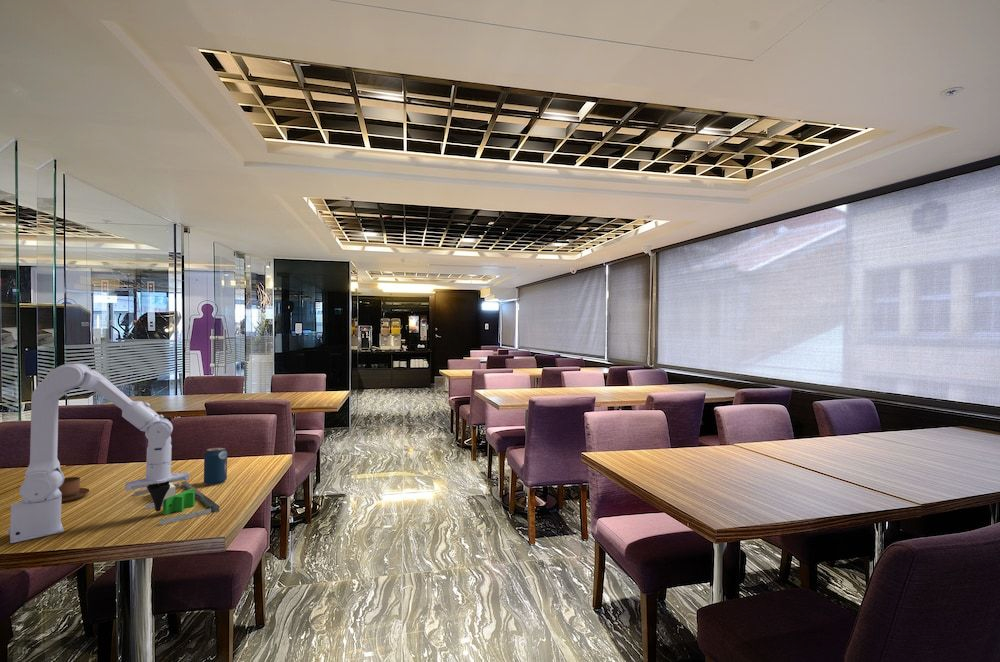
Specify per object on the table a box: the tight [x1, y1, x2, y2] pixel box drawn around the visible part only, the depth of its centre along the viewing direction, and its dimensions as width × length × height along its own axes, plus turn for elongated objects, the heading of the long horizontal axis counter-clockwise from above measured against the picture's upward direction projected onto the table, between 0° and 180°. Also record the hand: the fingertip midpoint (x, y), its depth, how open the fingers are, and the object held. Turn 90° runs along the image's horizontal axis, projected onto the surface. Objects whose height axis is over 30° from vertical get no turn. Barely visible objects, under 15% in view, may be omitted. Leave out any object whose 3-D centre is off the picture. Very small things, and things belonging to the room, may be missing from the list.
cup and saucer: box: [59, 476, 90, 503], centre depth 144 cm, size 12×12×6 cm
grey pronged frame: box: [133, 480, 220, 526], centre depth 140 cm, size 14×37×2 cm, turn 47°
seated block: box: [163, 482, 177, 500], centre depth 146 cm, size 4×11×4 cm, turn 47°
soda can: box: [203, 446, 228, 486], centre depth 161 cm, size 7×7×12 cm
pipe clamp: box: [162, 489, 196, 516], centre depth 135 cm, size 10×4×4 cm, turn 175°
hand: (157, 510), depth 130 cm, fingers closed
